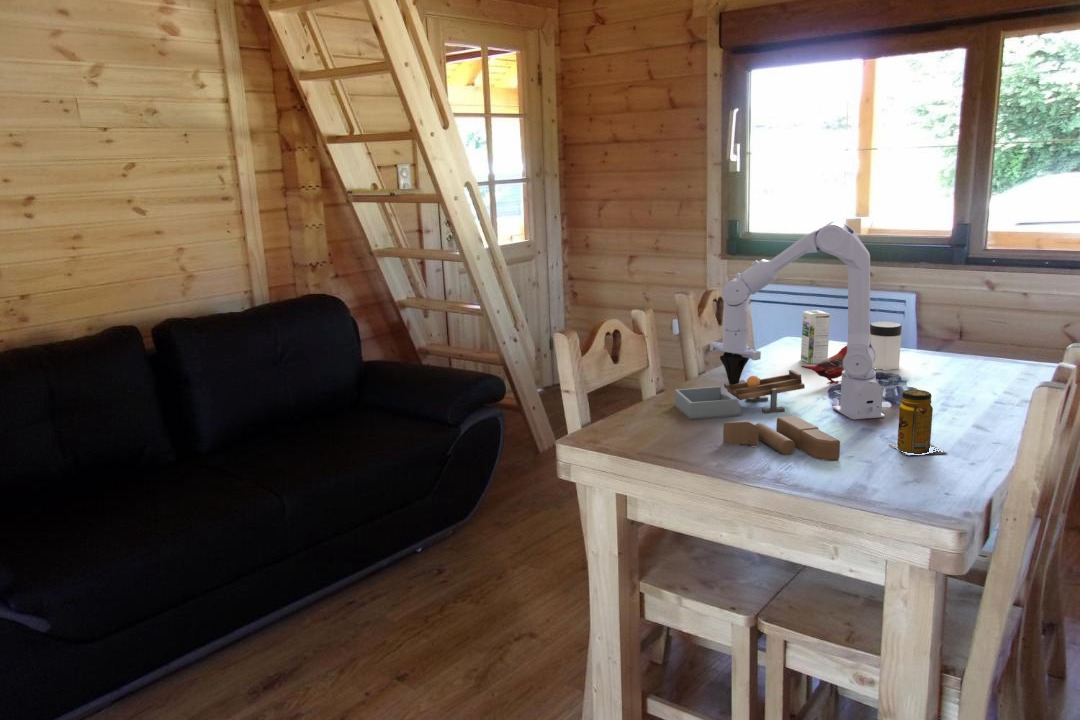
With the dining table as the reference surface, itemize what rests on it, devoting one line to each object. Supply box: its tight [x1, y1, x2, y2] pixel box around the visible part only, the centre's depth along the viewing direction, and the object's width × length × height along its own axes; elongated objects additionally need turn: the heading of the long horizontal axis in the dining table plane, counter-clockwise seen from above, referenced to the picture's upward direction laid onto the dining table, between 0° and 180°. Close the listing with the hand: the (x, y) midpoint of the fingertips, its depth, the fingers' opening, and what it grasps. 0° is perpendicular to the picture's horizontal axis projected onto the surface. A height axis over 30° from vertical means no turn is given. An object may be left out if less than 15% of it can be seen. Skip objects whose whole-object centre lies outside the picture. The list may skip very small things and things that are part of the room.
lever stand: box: [745, 377, 786, 415], centre depth 200 cm, size 5×11×6 cm, turn 8°
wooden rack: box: [723, 369, 806, 401], centre depth 201 cm, size 16×12×3 cm
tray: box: [674, 385, 741, 421], centre depth 198 cm, size 12×12×4 cm
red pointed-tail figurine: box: [800, 345, 847, 385], centre depth 215 cm, size 3×18×10 cm, turn 112°
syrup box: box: [800, 309, 831, 365], centre depth 240 cm, size 6×6×14 cm
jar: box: [870, 321, 903, 371], centre depth 231 cm, size 9×8×12 cm
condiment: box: [889, 389, 949, 456], centre depth 167 cm, size 7×8×12 cm
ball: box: [746, 375, 760, 387], centre depth 199 cm, size 3×3×3 cm
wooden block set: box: [722, 415, 841, 461], centre depth 170 cm, size 17×6×18 cm
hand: (733, 383), depth 204 cm, fingers closed, pressing on wooden rack
